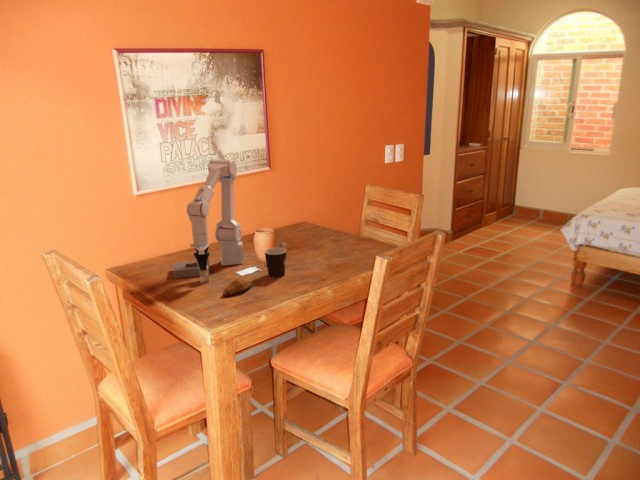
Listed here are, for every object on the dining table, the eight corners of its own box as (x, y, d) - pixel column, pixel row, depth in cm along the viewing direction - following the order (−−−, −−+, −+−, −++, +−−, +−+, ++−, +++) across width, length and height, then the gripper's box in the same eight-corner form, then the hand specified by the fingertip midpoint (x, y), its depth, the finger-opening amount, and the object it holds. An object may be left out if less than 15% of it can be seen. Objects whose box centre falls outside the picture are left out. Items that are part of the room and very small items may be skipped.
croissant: (230, 300, 169) (229, 287, 168) (217, 295, 173) (216, 282, 172) (258, 288, 179) (257, 276, 178) (246, 284, 183) (245, 272, 182)
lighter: (272, 264, 204) (271, 246, 202) (270, 263, 206) (269, 245, 203) (286, 260, 209) (285, 242, 207) (283, 259, 210) (282, 241, 208)
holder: (209, 266, 203) (208, 259, 202) (209, 274, 193) (209, 267, 192) (174, 269, 200) (173, 262, 199) (173, 278, 190) (172, 271, 189)
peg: (208, 279, 188) (207, 264, 187) (209, 282, 185) (207, 267, 184) (200, 280, 188) (199, 265, 186) (200, 283, 185) (199, 268, 183)
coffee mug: (278, 280, 186) (277, 255, 183) (261, 276, 190) (259, 252, 188) (296, 271, 195) (295, 247, 193) (279, 267, 200) (277, 244, 197)
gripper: (189, 228, 187) (192, 262, 191) (188, 238, 173) (192, 274, 177) (208, 227, 188) (211, 260, 192) (208, 237, 175) (211, 272, 179)
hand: (203, 266), depth 185 cm, fingers open, 7 cm apart
